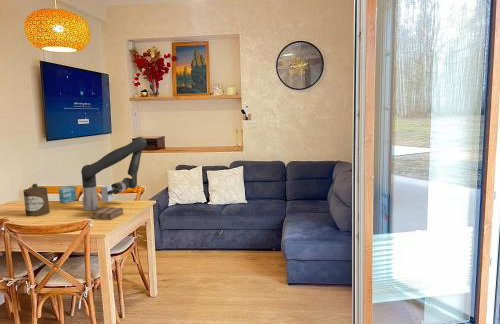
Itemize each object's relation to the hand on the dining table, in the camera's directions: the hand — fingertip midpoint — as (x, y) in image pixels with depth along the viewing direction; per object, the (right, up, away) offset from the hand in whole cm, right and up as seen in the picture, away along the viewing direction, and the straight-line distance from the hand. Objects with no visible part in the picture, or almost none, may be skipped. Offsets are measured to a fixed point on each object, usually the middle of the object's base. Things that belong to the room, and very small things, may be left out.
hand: (104, 193), depth 250 cm
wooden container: (-54, -17, +16) cm, 59 cm away
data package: (-50, -12, +52) cm, 73 cm away
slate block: (+1, -6, +3) cm, 7 cm away
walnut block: (+1, -17, +5) cm, 18 cm away
